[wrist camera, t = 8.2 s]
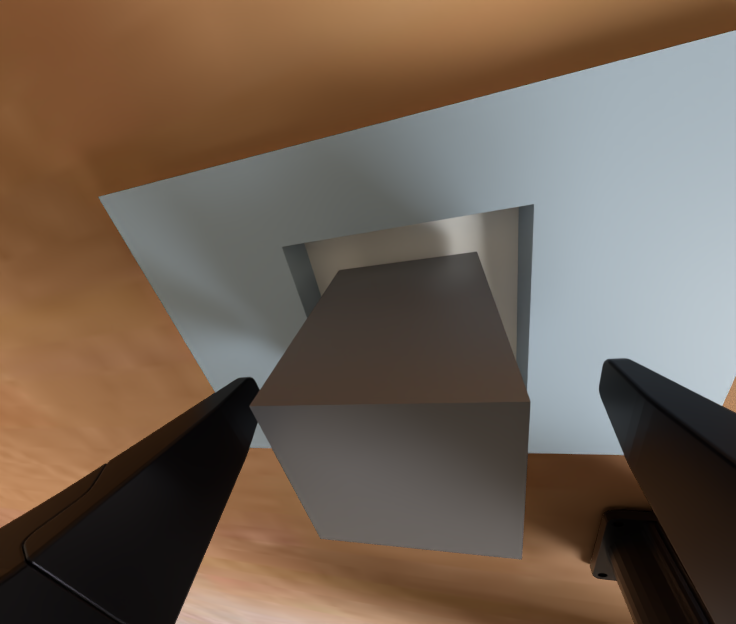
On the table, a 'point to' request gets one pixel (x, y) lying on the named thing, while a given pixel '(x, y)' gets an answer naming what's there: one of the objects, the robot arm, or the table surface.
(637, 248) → the socket
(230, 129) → the table surface
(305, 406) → the plug
